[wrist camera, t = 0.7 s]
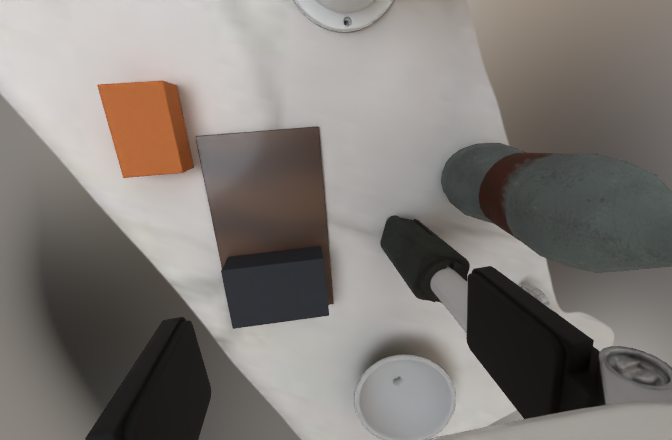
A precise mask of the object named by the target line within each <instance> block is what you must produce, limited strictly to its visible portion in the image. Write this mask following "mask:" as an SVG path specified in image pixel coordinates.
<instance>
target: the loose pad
mask: <svg viewBox="0 0 672 440" xmlns="http://www.w3.org/2000/svg"><path fill="white" fill-rule="evenodd" d="M98 89H99V93H100V96H101V100H102V103H103V107H104V110H105V114H106V118H107V121H108V125H109V128H110V132H111V135H112V139H113V142H114V146H115V150H116V153H117V157H118V160H119V164H120V167H121V171H122V175H123V178H128V177H139V176H151V175H162V174H173V173H183V172H185V171H187V170H189V169H191V168H193V167H194V166H193V161H192V156H191V152H190V147H189V142H188V137H187V132H186V128H185V123H184V118H183V113H182V109H181V104H180V99H179V94H178V89H177V85H174V84H171V83H168V82H164V81H150V82H134V83H117V84H101V85H98Z"/></svg>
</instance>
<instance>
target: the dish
mask: <svg viewBox="0 0 672 440" xmlns="http://www.w3.org/2000/svg"><path fill="white" fill-rule="evenodd" d="M396 377H399V378H398V379H394V378H396ZM455 405H456V394H455V389H454V386H453V383H452V381H451V379H450V377H449V376H448V374H447V373H446V372H445V371H444V370H443V369H442V368H441V367H440V366H439V365H437V364H436V363H434V362H433V361H431V360H429V359H427V358H424V357H421V356H417V355H410V354H400V355H393V356H389V357H386V358H384V359H381V360H379V361H377V362H376V363H374V364H373V365H371V366H370V367H369V368H368V369H367V370H366V371H365V372H364V373H363V375H362V376H361V377H360V379H359V381H358V383H357V385H356V389H355V393H354V406H355V410H356V413H357V416H358V418H359V420H360V421H361V423H362V424H363V426H364V427H365V428H366V429H367V430H368V431H369V432H370V433H372V434H373V435H375V436H376V437H378V438H380V439H382V440H426V439H429V438H431V437H433V436H435V435H436V434H438V433H439V432H440V431H441V430H442V429H443V428H444V427H445V426H446V425H447V424H448V422H449V421H450V419H451V417H452V415H453V413H454V410H455Z"/></svg>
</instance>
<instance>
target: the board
mask: <svg viewBox="0 0 672 440" xmlns="http://www.w3.org/2000/svg"><path fill="white" fill-rule="evenodd" d="M196 142H197V147H198V152H199V157H200V162H201V167H202V172H203V177H204V182H205V186H206V191H207V196H208V201H209V206H210V211H211V216H212V221H213V226H214V231H215V236H216V241H217V246H218V251H219V256H220V261H221V266H222V268H223V266H224V264H225V262H226V260H227V258H228V257H231V256H240V255H248V254H257V253H266V252H274V251H283V250H291V249H300V248H309V247H317V246H321V248H322V253H323V257H324V266H325V277H326V288H327V299H328V305H330V304H334V303H333V291H332V279H331V267H330V256H329V244H328V232H327V221H326V209H325V197H324V185H323V174H322V162H321V150H320V139H319V127H307V128H294V129H281V130H269V131H256V132H243V133H230V134H217V135H205V136H196Z"/></svg>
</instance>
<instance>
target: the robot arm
mask: <svg viewBox="0 0 672 440" xmlns="http://www.w3.org/2000/svg"><path fill="white" fill-rule="evenodd" d="M294 2H295V3H296V5H297V6H298V8H299V9H300V10H301V11H302V12H303V13H304V14H305V15H306V16H307V17H308V18H309V19H310V20H312V21H313V22H314V23H316V24H317V25H319V26H321V27H324V28H326V29H328V30H332V31H337V32H352V31H356V30H360V29H363V28H365V27H367V26H369V25H371V24H372V23H373V22H375V21H376V20H378V19H379V18H380V17H381V16H382V15H383V14H384V13H385V11H386V10H387V9H388V7H389V6H390V5H391V3H392V2H393V0H294ZM345 21H347V22H348V26H346V25H345V24H344V22H345ZM593 341H594V340H592V339H591V338H590V337H588V336H587V335H585V334H584V333H583V332H581V331H580V330H579V329H577V328H576V327H574V326H573V325H572V324H570V323H569V322H568V321H566V320H565V319H563V318H562V317H561V316H559V315H558V314H557V313H555V312H554V311H552V310H551V309H550V308H548V307H547V306H546V305H544V304H543V303H541V302H540V301H539V300H537V299H536V298H535V297H533V296H532V295H530V294H529V293H528V292H526V291H525V290H524V289H522V288H521V287H519V286H518V285H517V284H515V283H514V282H513V281H511V280H510V279H508V278H507V277H506V276H504V275H503V274H502V273H500V272H499V271H497V270H496V269H495V268H493V267H491V266H488V267H482V268H476V269H474V270H473V271H472V274H469V275H468V294H467V343H468V346H469V348H470V350H471V351H472V352H473V354H474V355H475V356H476V358H477V359H478V360H479V361H480V363H481V364H482V365H483V367H484V368H485V369H486V370H487V372H488V373H489V374H490V376H491V377H492V378H493V379H494V381H495V382H496V383H497V385H498V386H499V387H500V388H501V390H502V391H503V392H504V393H505V395H506V396H507V397H508V399H509V400H510V401H511V402H512V404H513V405H514V406H515V408H516V409H517V410H518V411H519V413H520V414H521V415H522V417H523V418H524V419H523V420H518V421H513V422H508V423H504V424H499V425H494V426H489V427H484V428H479V429H474V430H469V431H465V432H460V433H455V434H450V435H445V436H440V437H435V438H431V439H426V440H672V367H671V366H669V365H668V364H667V363H665V362H664V361H662V360H660V359H659V358H657V357H655V356H653V355H651V354H648V353H646V352H643V351H640V350H637V349H633V348H628V347H621V346H611V347H607V348H604V349H602V350H601V351H598V350H597V349H596V348H594V347H593ZM210 398H211V386H210V383H209V379H208V376H207V372H206V369H205V366H204V362H203V359H202V356H201V352H200V348H199V345H198V342H197V338H196V335H195V331H194V328H193V325H192V322H191V321H186V319H185V318H183V317H179V318H174V319H168V320H163V321H162V322H161V324H160V326H159V327H158V329H157V330H156V332H155V333H154V335H153V336H152V338H151V339H150V341H149V342H148V344H147V345H146V347H145V349H144V350H143V352H142V353H141V354H140V356H139V358H138V359H137V361H136V362H135V364H134V365H133V367H132V368H131V370H130V371H129V373H128V375H127V376H126V377H125V379H124V380H123V382H122V383H121V385H120V387H119V388H118V390H117V391H116V393H115V394H114V396H113V397H112V399H111V400H110V402H109V403H108V405H107V407H106V408H105V409H104V411H103V412H102V414H101V416H100V417H99V418H98V420H97V422H96V423H95V425H94V426H93V428H92V429H91V431H90V432H89V434H88V435H87V437H86V438H85V439H86V440H198V438H199V435H200V432H201V428H202V425H203V422H204V418H205V415H206V412H207V408H208V405H209V401H210Z"/></svg>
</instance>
